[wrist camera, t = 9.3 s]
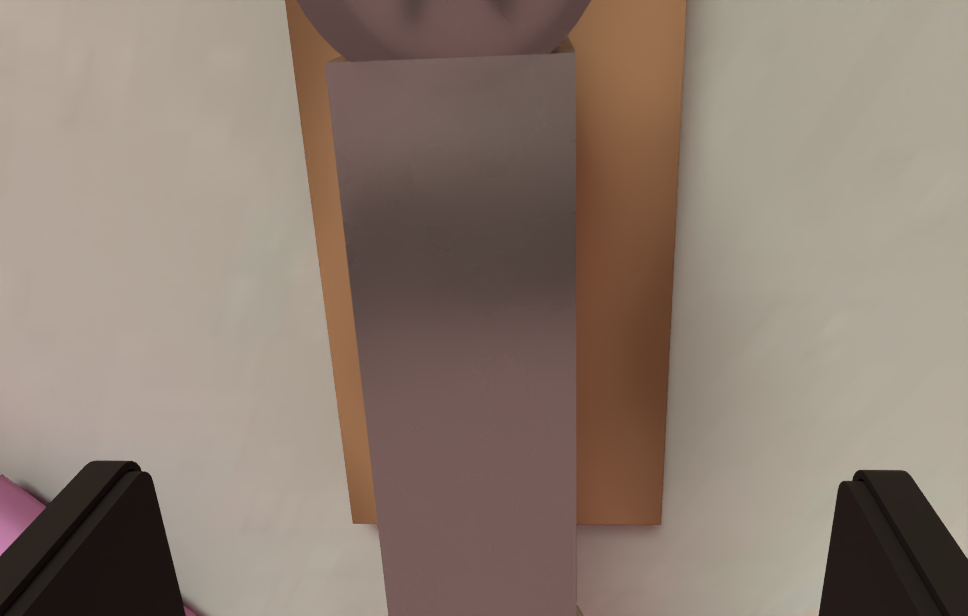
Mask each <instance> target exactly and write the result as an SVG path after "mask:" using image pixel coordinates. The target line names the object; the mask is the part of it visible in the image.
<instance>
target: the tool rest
mask: <svg viewBox="0 0 968 616" xmlns="http://www.w3.org/2000/svg"><path fill="white" fill-rule="evenodd" d="M285 3H286V11H287V19H288V27H289V34H290V42H291V50H292V57H293V65H294V73H295V81H296V88H297V96H298V104H299V111H300V119H301V127H302V135H303V142H304V150H305V158H306V165H307V173H308V181H309V189H310V196H311V204H312V212H313V220H314V227H315V235H316V243H317V250H318V258H319V266H320V274H321V281H322V289H323V297H324V304H325V312H326V320H327V328H328V335H329V343H330V351H331V358H332V366H333V374H334V382H335V389H336V397H337V405H338V412H339V420H340V428H341V436H342V443H343V451H344V459H345V466H346V474H347V482H348V490H349V497H350V505H351V513H352V520H353V524H378V521H377V512H376V504H375V495H374V486H373V478H372V469H371V460H370V452H369V443H368V435H367V426H366V417H365V409H364V400H363V392H362V383H361V374H360V366H359V357H358V348H357V340H356V331H355V323H354V314H353V305H352V297H351V288H350V280H349V271H348V262H347V254H346V245H345V236H344V228H343V219H342V211H341V202H340V193H339V185H338V176H337V168H336V159H335V150H334V142H333V133H332V125H331V116H330V107H329V99H328V90H327V81H326V73H325V64H324V63H326V62H328V61H330V60H333V59H335V58H337V57H340V56H342V55H341V54H339V53H338V52H337V51H336V50H334V49H333V47H332V46H331V45H330V44H329V43H328V42H327V41H326V40H325V39H324V38H323V37H322V36H321V35H320V34H319V33H318V31H317V30H316V29H315V28H314V26H313V25H312V24H311V22H310V21H309V20H308V18H307V17H306V16H305V14H304V12H303V11H302V9H301V7H300V6H299V4H298V2H297V0H285ZM686 3H687V0H591V1H590V3H589V5H588V7H587V8H586V10H585V11H584V13H583V15H582V16H581V18H580V19H579V21H578V23H577V24H576V25H575V26H574V28H573V29H572V30H571V31H570V33H569V34H568V37H569V39H570V41H571V43H572V45H573V48H574V50H575V52H576V524H607V525H661V514H662V493H663V473H664V452H665V432H666V411H667V391H668V371H669V350H670V330H671V309H672V289H673V268H674V248H675V228H676V207H677V187H678V166H679V146H680V125H681V105H682V85H683V64H684V44H685V23H686Z"/></svg>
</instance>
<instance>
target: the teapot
mask: <svg viewBox="0 0 968 616" xmlns="http://www.w3.org/2000/svg"><path fill="white" fill-rule="evenodd" d="M45 508H46V506H45V505H44V504H42V503H41V502H39V501H38V500H37V499H35V498H34V497H33V496H31V495H30V494H28V493H27V492H26V491H24V490H23V489H21V488H20V487H19V486H17V485H16V484H15V483H13V482H12V481H10V480H9V479H8V478H6V477H5V476H3V475H1V476H0V556H1V555H2V553H3V552H4V551H5V550H6V549H7V548H8V547H9V546H10V545H11V544H12V543H13V542H14V541H15V540H16V539H17V538H18V537H19V535H20V534H21V533H22V532H23V531H24V530H25V529H26V528H27V527H28V526H29V525H30V524H31V523H32V522H33V521H34V520H35V519H36V517H37V516H38V515H39V514H40V513H41V512H42V511H43V510H44V509H45ZM184 610H185V614H186V616H197V615H195V614H194V613H193V612H191V611H190V610H189V609H187V608H186V607H184Z"/></svg>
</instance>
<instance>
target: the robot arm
mask: <svg viewBox="0 0 968 616" xmlns="http://www.w3.org/2000/svg"><path fill="white" fill-rule="evenodd" d="M0 616H186V614H185V610H184V606H183V601H182V597H181V593H180V589H179V585H178V581H177V577H176V573H175V569H174V565H173V561H172V557H171V553H170V549H169V545H168V540H167V536H166V532H165V528H164V524H163V520H162V516H161V512H160V508H159V504H158V500H157V496H156V492H155V488H154V484H153V480H152V477H151V476H150V474H149V473H147V472H142V471H141V468H140V467H139V465H138V464H137V463H136V462H133V461H92V462H90V463H88V464H87V465H86V466H85V467H84V468H83V469H82V470H81V471H80V472H79V473H78V474H77V475H76V476H75V477H74V478H73V479H72V480H71V481H70V483H69V484H68V485H67V486H66V487H65V488H64V489H63V490H62V491H61V492H60V493H59V494H58V495H57V496H56V497H55V498H54V499H53V501H52V502H51V503H50V504H49V505H48V506H47V507H46V508H45V509H44V510H43V511H42V512H41V513H40V514H39V515H38V516H37V517H36V519H35V520H34V521H33V522H32V523H31V524H30V525H29V526H28V527H27V528H26V529H25V530H24V531H23V532H22V533H21V534H20V535H19V537H18V538H17V539H16V540H15V541H14V542H13V543H12V544H11V545H10V546H9V547H8V548H7V549H6V550H5V551H4V552H3V553H2V555H1V556H0ZM819 616H968V559H967V558H966V556H965V555H964V553H963V552H962V550H961V549H960V547H959V546H958V544H957V543H956V541H955V540H954V538H953V537H952V536H951V534H950V533H949V531H948V530H947V528H946V527H945V525H944V524H943V522H942V521H941V519H940V518H939V516H938V515H937V514H936V512H935V511H934V509H933V508H932V506H931V505H930V503H929V502H928V500H927V499H926V497H925V496H924V495H923V493H922V492H921V490H920V489H919V487H918V486H917V484H916V483H915V481H914V480H913V478H912V477H911V476H910V475H909V474H908V473H907V472H906V471H902V470H859V471H857V472H856V473H855V475H854V476H853V480H852V481H843V482H841V483H840V485H839V488H838V493H837V500H836V506H835V513H834V519H833V526H832V532H831V539H830V545H829V552H828V558H827V565H826V571H825V578H824V585H823V591H822V598H821V604H820V611H819Z"/></svg>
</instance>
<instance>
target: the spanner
mask: <svg viewBox="0 0 968 616" xmlns="http://www.w3.org/2000/svg"><path fill="white" fill-rule="evenodd" d="M590 1H591V0H297V2H298V4H299V6H300V7H301V9H302V11H303V12H304V14H305V16H306V17H307V18H308V20H309V21H310V22H311V24H312V25H313V26H314V28H315V29H316V30H317V31H318V33H319V34H320V35H321V36H322V37H323V38H324V39H325V40H326V41H327V42H328V43H329V44H330V45H331V46H332V47H333V49H334V50H336V51H337V52H338V53H339V54H341V55H342V56H340V57H337V58H335V59H333V60H330V61H328V62H326V63H324V64H325V73H326V81H327V90H328V99H329V107H330V116H331V125H332V133H333V142H334V150H335V159H336V168H337V176H338V185H339V193H340V202H341V211H342V219H343V228H344V236H345V245H346V254H347V262H348V271H349V280H350V288H351V297H352V305H353V314H354V323H355V331H356V340H357V348H358V357H359V366H360V374H361V383H362V392H363V400H364V409H365V417H366V426H367V435H368V443H369V452H370V460H371V469H372V478H373V486H374V495H375V504H376V512H377V521H378V529H379V538H380V547H381V555H382V564H383V572H384V581H385V590H386V598H387V607H388V616H583V614H582V612H581V610H580V609H579V607H578V606H577V604H576V52H575V50H574V48H573V45H572V43H571V41H570V39H569V37H568V34H569V33H570V31H571V30H572V29H573V28H574V26H575V25H576V24H577V23H578V21H579V19H580V18H581V16H582V15H583V13H584V11H585V10H586V8H587V7H588V5H589V3H590Z"/></svg>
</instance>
